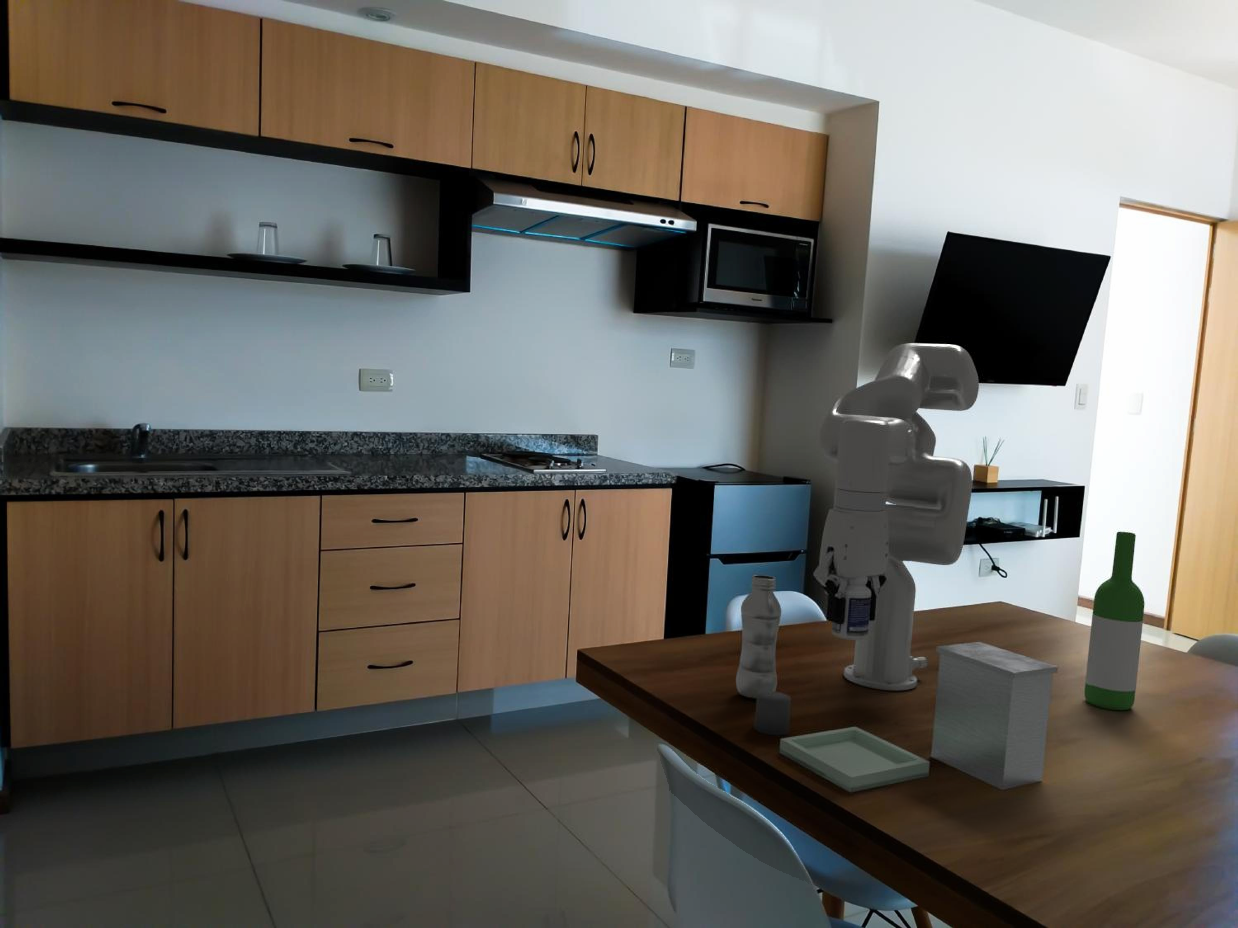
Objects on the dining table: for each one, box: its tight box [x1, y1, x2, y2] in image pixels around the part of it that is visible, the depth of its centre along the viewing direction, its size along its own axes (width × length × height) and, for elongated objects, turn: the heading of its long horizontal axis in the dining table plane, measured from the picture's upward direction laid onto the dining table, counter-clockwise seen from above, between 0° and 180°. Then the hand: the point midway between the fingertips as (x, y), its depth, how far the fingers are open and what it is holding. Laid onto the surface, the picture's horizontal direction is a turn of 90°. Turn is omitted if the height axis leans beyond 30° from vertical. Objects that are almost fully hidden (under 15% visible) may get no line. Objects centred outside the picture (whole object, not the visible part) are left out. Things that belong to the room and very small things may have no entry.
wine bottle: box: [1084, 531, 1145, 711], centre depth 165 cm, size 8×8×30 cm
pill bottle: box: [831, 576, 871, 641], centre depth 145 cm, size 5×5×10 cm
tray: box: [779, 726, 931, 793], centre depth 131 cm, size 14×14×2 cm
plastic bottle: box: [735, 574, 782, 700], centre depth 157 cm, size 6×7×20 cm
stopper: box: [754, 691, 792, 736], centre depth 143 cm, size 5×5×5 cm
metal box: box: [930, 641, 1059, 791], centre depth 132 cm, size 9×13×16 cm
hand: (850, 619), depth 145 cm, fingers closed on pill bottle, 5 cm apart
